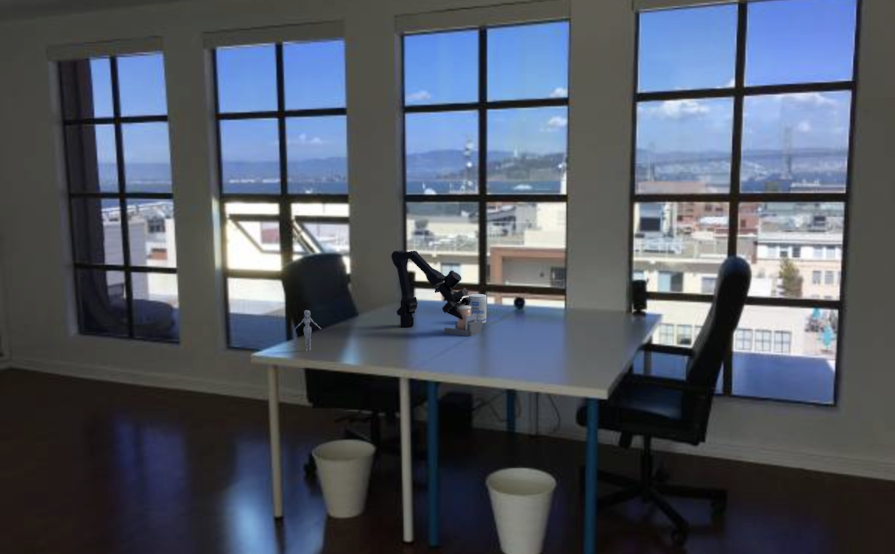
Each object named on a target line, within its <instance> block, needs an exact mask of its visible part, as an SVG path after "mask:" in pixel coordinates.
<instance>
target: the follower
mask: <svg viewBox="0 0 895 554" xmlns="http://www.w3.org/2000/svg"><path fill="white" fill-rule="evenodd" d="M475 321H476V313H474V314H470V315H467V316H466V330H469V323H472V322H475Z"/></svg>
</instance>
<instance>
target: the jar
mask: <svg viewBox="0 0 895 554" xmlns="http://www.w3.org/2000/svg"><path fill="white" fill-rule="evenodd" d="M457 308H458V310H459V312H460V313H461V315H462V317H463V320H461V319H459V318H457V324H458V329H462V330H466V316H467V315H470V314H471V306H468V305H461V306H457Z"/></svg>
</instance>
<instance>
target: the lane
mask: <svg viewBox="0 0 895 554" xmlns="http://www.w3.org/2000/svg"><path fill="white" fill-rule="evenodd" d="M454 327H455V328H453V327H444V328H443V329H444V330H443V331H444V334H450V335H456V336H464V337H465V336H466V337H474V336H476V335H478V334H482V333H483V323H482V320H479V321H475V322H472V323H469V330H462V329H458V323H455V326H454Z"/></svg>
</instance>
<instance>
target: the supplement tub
mask: <svg viewBox="0 0 895 554" xmlns="http://www.w3.org/2000/svg"><path fill="white" fill-rule="evenodd" d="M468 297H470V299H471V301H470V303H469V306H471V313H472V314H474V313H476V321H479V320H482V324H485V323H487V302H488V301H487V295H486V294H482V293H473V294H468Z"/></svg>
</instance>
